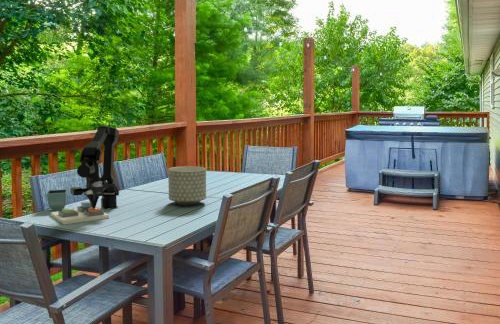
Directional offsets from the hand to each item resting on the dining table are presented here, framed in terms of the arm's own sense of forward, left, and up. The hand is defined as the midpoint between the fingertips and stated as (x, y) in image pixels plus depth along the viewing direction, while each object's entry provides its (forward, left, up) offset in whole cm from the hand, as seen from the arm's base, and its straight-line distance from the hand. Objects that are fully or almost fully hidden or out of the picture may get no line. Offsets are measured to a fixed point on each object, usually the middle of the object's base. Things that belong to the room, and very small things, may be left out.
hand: (93, 208), depth 229 cm
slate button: (0, -10, -2) cm, 10 cm away
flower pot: (+9, -26, -4) cm, 28 cm away
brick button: (0, 0, -2) cm, 3 cm away
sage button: (+10, -5, -2) cm, 11 cm away
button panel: (+5, -5, -4) cm, 8 cm away
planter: (-49, -2, -4) cm, 49 cm away
